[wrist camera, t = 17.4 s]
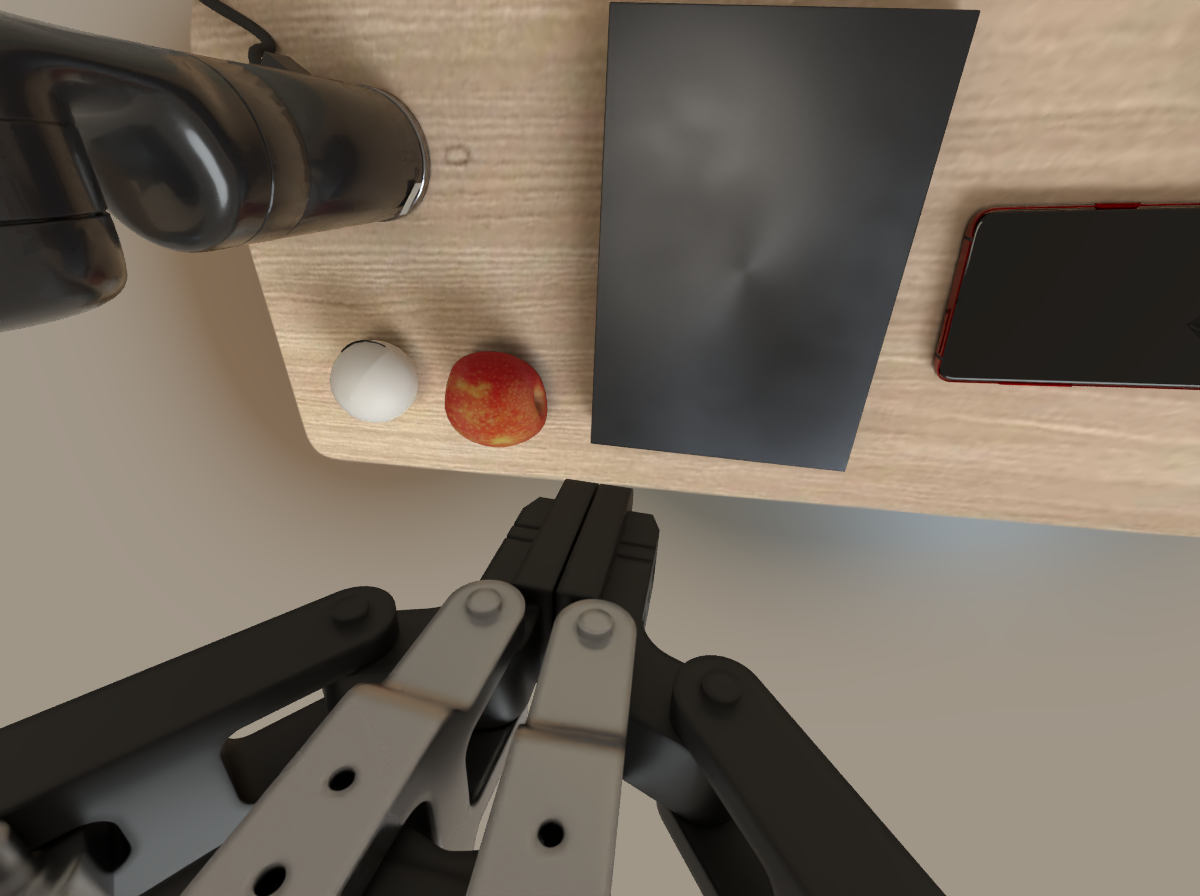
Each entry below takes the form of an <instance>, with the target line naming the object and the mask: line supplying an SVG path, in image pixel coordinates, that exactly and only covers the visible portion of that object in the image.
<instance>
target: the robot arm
mask: <svg viewBox="0 0 1200 896" xmlns="http://www.w3.org/2000/svg"><path fill="white" fill-rule="evenodd" d="M199 1H200V2H202V3H203V4H205V5H206V6H208V7H209V8H211V9H212V10H214V11H216V12H217V13H219V14H221V15H222V16H224V17H226V18H227V19H229V20H231V21H233V22H234V23H236V24H238V25H239V26H241V27H243V28H244V29H246V30H248V31H249V32H251V33H252V34H253V35H255V36H256V37H257V38H258V39H259V40H260V41H261V42H262V43H259V44H255V45H253V46H251V47H250V48H249V52H248V58H249V62H250V64H244V63H239V62H234V61H229V60H222V59H217V58H212V57H206V56H201V55H196V54H191V53H186V52H181V51H175V50H171V49H165V48H159V47H154V46H149V45H145V44H141V43H137V42H132V41H127V40H123V39H118V38H113V37H108V36H103V35H98V34H93V33H89V32H83V31H79V30H75V29H71V28H67V27H63V26H59V25H55V24H51V23H47V22H43V21H38V20H34V19H30V18H26V17H23V16H19V15H15V14H11V13H7V12H3V11H0V332H4V331H9V330H14V329H21V328H26V327H30V326H34V325H39V324H43V323H48V322H52V321H56V320H60V319H63V318H66V317H70V316H74V315H78V314H80V313H83V312H86V311H88V310H91V309H94V308H96V307H99V306H101V305H103V304H105V303H106V302H108V301H110V300H111V299H113V298H115V297H116V296H117V295H118V294H119V293H120V292H121V291H122V289H123V288H124V286H125V284H126V281H127V269H126V263H125V258H124V254H123V251H122V248H121V244H120V241H119V237H118V234H117V232H116V229H115V226H114V223H113V221H112V219H111V216H110V214H109V213H108V212H106V210H108V211H109V212H110V213H111V214H112V215H113V216H114V217H116V218H117V219H118V220H119V221H120V222H121V223H122V224H124V225H125V226H126V227H128V228H129V229H130V230H132V231H133V232H135V233H136V234H138V235H139V236H141V237H142V238H144V239H146V240H148V241H150V242H152V243H154V244H157V245H159V246H161V247H164V248H167V249H171V250H176V251H182V252H191V253H193V252H208V251H214V250H220V249H226V248H231V247H237V246H242V245H248V244H254V243H259V242H265V241H271V240H275V239H281V238H287V237H292V236H298V235H304V234H309V233H315V232H321V231H326V230H332V229H338V228H343V227H349V226H355V225H360V224H366V223H372V222H385V221H392V220H396V219H400V218H402V217H404V216H406V215H408V214H409V213H411V212H412V211H413V210H414V209H415V208H416V207H417V206H418V205H419V203H420V202H421V201H422V199H423V197H424V195H425V192H426V190H427V187H428V183H429V177H430V157H429V151H428V146H427V143H426V139H425V137H424V134H423V132H422V129H421V127H420V125H419V124H418V122H417V120H416V119H415V117H414V116H413V114H412V113H411V112H410V111H409V109H408V108H407V107H406V106H405V105H404V104H403V103H402V102H401V101H400V100H398V99H397V98H396V97H394V96H393V95H391V94H389V93H388V92H386V91H383V90H381V89H378V88H374V87H369V86H364V85H351V84H346V83H343V82H342V81H338V80H333V79H328V78H323V77H318V76H313V75H311V74H310V73H309V72H308V71H306V70H305V69H304V68H303V67H301V66H300V65H299V64H297V63H296V62H295V61H294V60H292V59H291V58H290V57H288V56H283V55H279V54H275V52H276V45H275V43H274V41H273V39H272V38H271V36H270V35H269V34H268V33H267V32H266V31H265V30H264V29H263V28H261V27H260V26H259V25H257V24H256V23H254V22H253V21H252V20H250V19H248V18H247V17H245V16H244V15H242V14H240V13H239V12H237V11H235V10H234V9H232V8H230V7H229V6H227V5H225V4H224V3H222V2H220V1H219V0H199ZM261 57H262V60H261ZM632 504H633V489H631V488H625V487H619V486H612V485H605V484H600V485H599V484H598V483H591V482H585V481H578V480H571V479H566V480H565V481H564V483H563V485H562V487H561V489H560V491H559V493H558V495H557V496H556V498H555V499H549V498H543V497H539V498H538V499H536V500H535V501H533V502H532V503H530V504H529V505H527V506H526V507H524V508H523V509H522V511H521V513H520V514H519V516H518V518H517V519H516V521H515V523H514V526H512V528H511V529H510V531H509V533H508V535H507V538H505V539H504V541H503V543H502V544H501V546H500V548H499V549H498V551H497V553H496V554H495V556H494V558H493V559H492V561H491V563H490V564H489V566H488V568H487V569H486V571H485V573H484V574H483V576H482V578H481V579H480V581H475V582H472V583H469V584H466V585H464V586H462V587H460V588H459V589H457V590H456V591H455V592H453V593H452V594H451V595H450V596H449V597H448V599H447V600H446V601H445V603H444V604H443V605H442V606H441V607H437V608H429V609H412V610H397V611H396V606H395V601H394V599H393V597H392V596H391V595H390V594H389V593H388V592H386V591H385V590H382V589H380V588H376V587H370V586H360V587H352V588H349V589H344V590H341V591H339V592H336V593H334V594H331V595H329V596H326V597H324V598H321V599H319V600H316V601H314V602H311V603H309V604H307V605H304V606H301V607H299V608H297V609H294V610H292V611H289V612H287V613H285V614H282V615H279V616H277V617H274V618H272V619H270V620H267V621H264V622H262V623H260V624H257V625H255V626H252V627H250V628H248V629H245V630H242V631H240V632H238V633H235V634H232V635H230V636H228V637H225V638H223V639H220V640H218V641H215V642H213V643H211V644H208V645H205V646H203V647H200V648H198V649H196V650H193V651H191V652H188V653H186V654H183V655H181V656H178V657H176V658H173V659H171V660H168V661H166V662H163V663H161V664H158V665H156V666H153V667H151V668H149V669H146V670H144V671H141V672H139V673H136V674H134V675H131V676H129V677H126V678H124V679H122V680H119V681H116V682H114V683H112V684H109V685H107V686H104V687H102V688H99V689H97V690H94V691H92V692H89V693H87V694H84V695H82V696H80V697H78V698H75V699H72V700H70V701H67V702H65V703H63V704H60V705H57V706H55V707H52V708H50V709H47V710H45V711H42V712H40V713H38V714H35V715H33V716H30V717H28V718H25V719H23V720H20V721H18V722H15V723H13V724H10V725H8V726H6V727H3V728H1V729H0V896H611V886H612V875H613V866H614V856H615V846H616V835H617V826H618V816H619V806H620V796H621V786H622V779H623V780H624V781H626V782H628V783H629V784H631V785H632V786H634V787H635V788H637V789H639V790H640V791H642V792H643V793H645V794H646V795H648V796H649V797H651V798H653V799H654V800H656V802H657V808H658V811H659V814H660V816H661V818H662V820H663V822H664V824H665V826H666V828H667V830H668V832H669V833H670V835H671V837H672V839H673V841H674V843H675V844H676V846H677V848H678V850H679V852H680V854H681V855H682V857H683V859H684V861H685V863H686V864H687V866H688V868H689V870H690V872H691V874H692V876H693V877H694V879H695V881H696V883H697V884H698V886H699V888H700V890H701V892H702V894H703V896H946V895H945V894H944V893H943V892H942V890H941V889H940V888H939V887H938V886H937V885H936V884H935V882H934V881H933V880H932V879H931V878H930V877H929V875H928V874H927V873H926V872H925V871H924V870H923V868H922V867H921V866H920V865H919V864H918V863H917V862H916V860H915V859H914V858H913V857H912V856H911V855H910V853H909V852H908V851H907V850H906V849H905V848H904V846H903V845H902V844H901V843H900V842H899V841H898V840H897V838H896V837H895V836H894V835H893V834H892V833H891V831H890V830H889V829H888V828H887V827H886V826H885V824H884V823H883V822H882V821H881V820H880V819H879V818H878V816H877V815H876V814H875V813H874V812H873V811H872V809H871V808H870V807H869V806H868V805H867V804H866V802H865V801H864V800H863V799H862V798H861V797H860V796H859V794H858V793H857V792H856V791H855V790H854V789H853V787H852V786H851V785H850V784H849V783H848V782H847V781H846V779H845V778H844V777H843V776H842V775H841V774H840V773H839V771H838V770H837V769H836V768H835V767H834V766H833V764H832V763H831V762H830V761H829V760H828V759H827V757H826V756H825V755H824V754H823V753H822V752H821V750H820V749H818V747H817V746H816V745H815V744H814V743H813V741H812V740H811V739H810V738H809V737H808V736H807V734H806V733H805V732H804V731H803V730H802V728H801V727H800V726H799V725H798V724H797V723H796V722H795V720H794V719H793V718H792V717H791V716H790V715H789V714H788V712H787V711H786V710H785V709H784V708H783V707H782V705H781V704H780V703H779V702H778V701H777V700H776V698H775V697H774V696H773V695H772V694H771V693H770V691H769V690H768V689H767V688H766V687H765V686H764V684H762V682H761V681H760V680H759V679H758V678H757V676H755V674H753V672H752V671H750V670H749V669H748V668H747V667H745V666H743V665H742V664H740V663H738V662H736V661H734V660H732V659H729V658H726V657H722V656H716V655H706V656H699V657H696V658H693V659H691V660H689V661H687V662H686V663H683V662H681V661H679V660H677V659H675V658H673V657H671V656H669V655H667V654H666V653H664V652H663V651H661V650H660V649H659V648H658V647H657V646H656V645H655V644H653V642H652V641H651V640H650V639H649V637H648V636H647V634H646V632H645V625H646V619H647V614H648V609H649V603H650V598H651V593H652V588H653V581H654V573H655V563H656V556H657V547H658V539H659V528H658V526H657V524H656V521H655V519H654V517H653V515H651V514H645V513H638V512H632ZM536 683H537V686H536V689H535V693H534V696H533V700H532V704H531V707H530V710H529V714H528V717H527V713H528V711H527V704H528V702H529V700H530V697H531V694H532V692H533V689H534V686H535V684H536ZM321 688H322V690H323V693H324V698H322V699H320V700H318V701H316V702H314V703H312V704H310V705H308V706H306V707H304V708H302V709H300V710H298V711H296V712H294V713H292V714H291V715H288V716H286V717H284V718H282V719H280V720H278V721H277V722H275V723H272V724H270V725H269V726H267V727H265V728H263V729H261V730H259V731H257V732H255V733H253V734H251V735H248V736H246V737H243V738H238V739H230V738H229V737H230V736H231V735H232V734H233V733H234V732H236V731H237V730H239V729H241V728H243V727H244V726H247V725H249V724H251V723H253V722H255V721H257V720H259V719H261V718H263V717H265V716H267V715H269V714H271V713H273V712H275V711H277V710H279V709H281V708H283V707H285V706H287V705H289V704H291V703H293V702H295V701H297V700H299V699H301V698H303V697H305V696H307V695H309V694H311V693H313V692H315V691H317V690H319V689H321ZM526 718H527V720H526ZM525 721H526V722H525ZM501 774H502V775H501ZM500 776H501V778H500ZM499 778H500V782H499V785H498V789H497V792H496V795H495V799H494V802H493V805H492V809H491V812H490V816H489V819H488V822H487V826H486V829H485V833H484V836H483V839H482V843H481V846H480V850H474V845H475V839H476V834H477V830H478V827H479V824H480V821H481V818H482V816H483V813H484V811H485V809H486V807H487V805H488V802H489V800H490V798H491V796H492V794H493V792H494V789H495V787H496V785H497V783H498V780H499Z"/></svg>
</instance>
